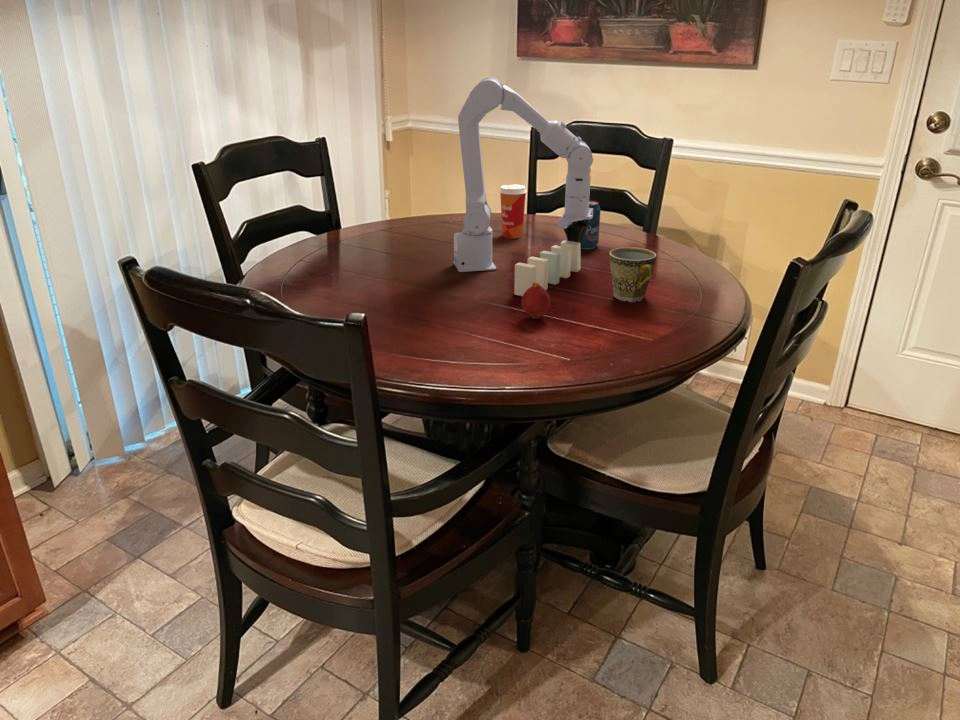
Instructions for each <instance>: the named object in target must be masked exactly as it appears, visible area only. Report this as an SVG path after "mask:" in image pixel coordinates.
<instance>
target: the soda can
mask: <svg viewBox="0 0 960 720" xmlns="http://www.w3.org/2000/svg"><path fill="white" fill-rule="evenodd" d="M589 208H593V218H592V219H585V220H584V221H589V222H590V226H589V227H588V229H587V230H586V232H585V235H584V237H583V241H582V244H581V247H580V250H592V249H595V248H596V247H597V246H598V244H599V241H600V239H599V237H600V227H601V226H600V225H601V224H600V222H601V207H600V204H599V202H598V200H597V201H596V200H592V199H589Z"/></svg>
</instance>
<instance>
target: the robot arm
mask: <svg viewBox="0 0 960 720" xmlns="http://www.w3.org/2000/svg"><path fill="white" fill-rule="evenodd" d="M500 105H501V107H500V111H507V112H508V111H509V112H513V113H515V114H516V115H517V116H519V117H520V118H521V119H522V120H524V121H525V122H526V123H527V124H528V125H530V126H531V127H533V129H535V130H536V131H538V132H539V134H540V135H539V137H540V142H542V143H543V144H544V145H545V146H546V147H548V148H549V149H550V150H551V151H553V152H554V153H555V154H556V155H557V156H559V157H560V158H562V159H566V162H567V173H566V177H565V191H564V192H565V194H564V212H563V214H562V215H561V217H560V218H559V219H558V223H557V226H558V227H557V228H560V229H563V232H564V234H565V237H566V240H567V241H573V242H579V243H580V247H581V244H582V241H583V237H584V235H585V232H586V230H587V229H588V227H589V226H590V222H589V221H584V220H585V219H592V218H593V208H589V200H590V195H591V194H590V193H591V172H592V171H591V167H592V165H593V162H594V157H593V152H592V151H591V148H590V147H589V146H588V144H587V143H586V142H585V141H583V140H582V139H583V138H581V137H580V136H579V135H578V136H576V135H574V133H572V132H571V131H570V130H569V129H568V128H567V124H566V123H565V122H563V121H561V122H560V121H558V120H548V119H547V118H545V117H544V116H543V115H542V114H541V113H540V111H538V110H537V109H536V108H534V106H533V105H531V103H529V102H528V101H527V100H526V99H525V98H523V97H522V96H521V95H520V94H519V92H516V91H515V90H513V89H512V88H511V87H510V86H507V84H506V85H505V84H502V82H501V81H500V80H498V79H497V78H496V77H491V76H489V77H485V78H482V79H481V80H480V82H479V83H477V84H476V85H475V86H474V87H473V89H472V90H471V91H470V92H469V95H468V97H467V98H466V100H465V102H464V104H463V106H462V108H461V110H460V112H458V113H459V114H458V118H457V122H458V130H459V131H458V132H459V140H460V150H461V161H462V171H463V179H464V181H463V182H464V190H465V213H464V217H463V219H462V221H463V223H462V224H463V226H464V227H463V228H462V231H460V232H455V233H454V235H453V265H454V266H455V268H456V270H457V272H459V273H464V272H466V273H467V272H479V271H480V272H482V271H497V266H496V264H495V263H494V262H493V228H492V227H491V226H490V224H491V222H490V221H491V218H492V209H491V207H490V205H489V204H488V201H487V193H486V189H485V179H484V168H483V158H482V157H483V156H482V147H481V135H480V124H479V123H480V122H481V121H482V120H483V119H484V118H485V116H486V115H487V114H488V113H490V112H492V111H493V110H495V109H497V108H498V107H499V106H500Z"/></svg>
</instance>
